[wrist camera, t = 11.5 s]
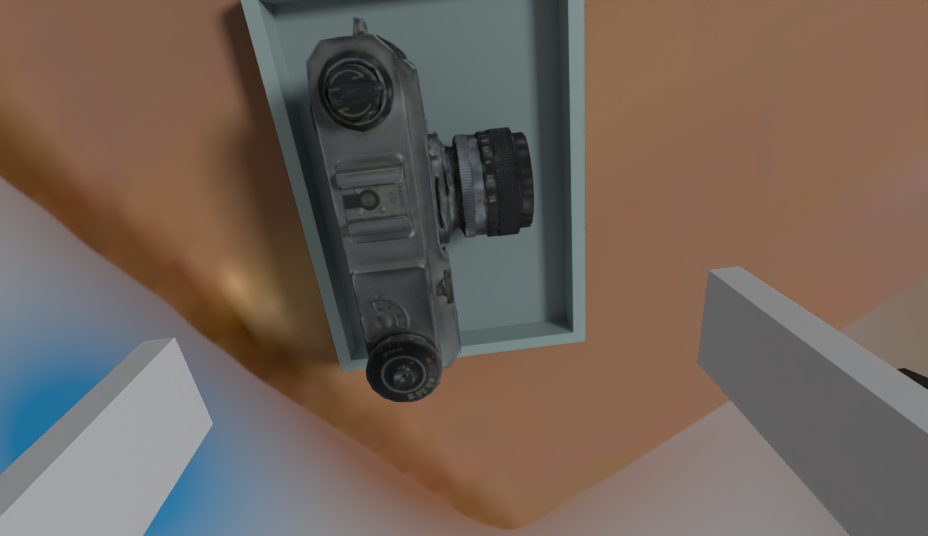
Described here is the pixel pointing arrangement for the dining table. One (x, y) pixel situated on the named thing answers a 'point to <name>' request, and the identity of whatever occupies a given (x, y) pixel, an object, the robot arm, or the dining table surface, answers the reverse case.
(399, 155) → the camera
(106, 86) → the dining table surface
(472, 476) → the dining table surface
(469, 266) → the storage tray
